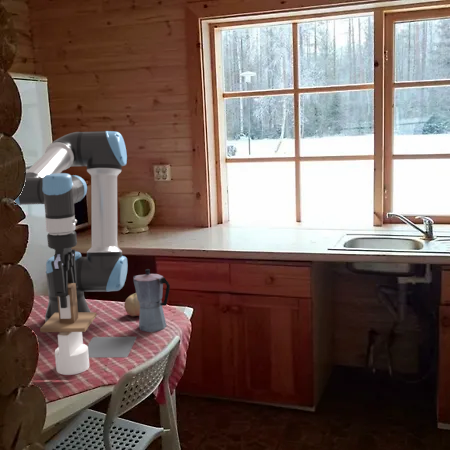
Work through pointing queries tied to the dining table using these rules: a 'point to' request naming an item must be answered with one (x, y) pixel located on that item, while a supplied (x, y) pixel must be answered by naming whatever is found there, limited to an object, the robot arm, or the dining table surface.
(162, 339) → the dining table surface
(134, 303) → the fruit
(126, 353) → the rubber mat
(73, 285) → the walnut lid
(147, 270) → the moka pot
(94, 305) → the dining table surface
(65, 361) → the cylinder with rectangular tab
